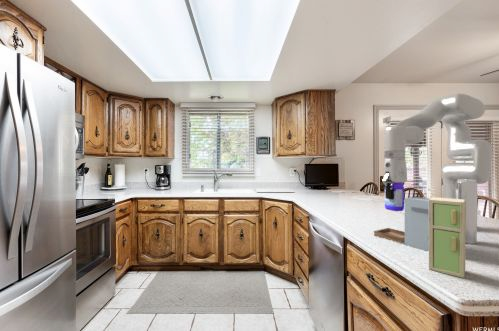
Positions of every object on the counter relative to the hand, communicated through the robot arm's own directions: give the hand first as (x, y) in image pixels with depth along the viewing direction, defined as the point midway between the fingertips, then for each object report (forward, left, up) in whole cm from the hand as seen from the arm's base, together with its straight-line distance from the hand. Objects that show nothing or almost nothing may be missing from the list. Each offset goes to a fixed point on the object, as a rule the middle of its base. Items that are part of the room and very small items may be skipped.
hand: (394, 197), depth 99 cm
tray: (0, 0, -17) cm, 17 cm away
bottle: (0, 0, -5) cm, 5 cm away
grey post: (-20, +17, -17) cm, 31 cm away
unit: (+1, +13, -17) cm, 21 cm away
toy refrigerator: (+18, +25, -17) cm, 35 cm away
